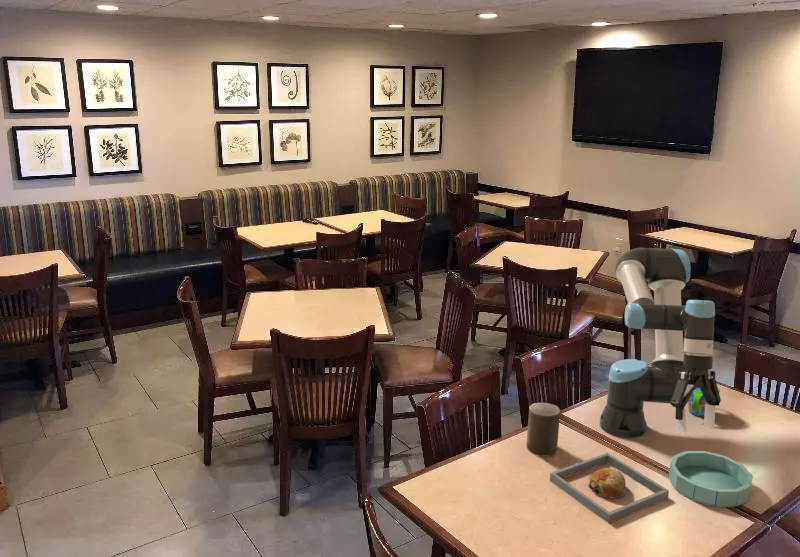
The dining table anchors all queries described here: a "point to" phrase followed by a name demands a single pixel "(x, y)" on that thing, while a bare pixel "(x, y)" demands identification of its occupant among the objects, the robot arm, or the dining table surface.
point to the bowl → (710, 478)
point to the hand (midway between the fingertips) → (695, 429)
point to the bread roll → (608, 483)
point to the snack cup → (698, 403)
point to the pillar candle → (543, 428)
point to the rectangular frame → (608, 516)
